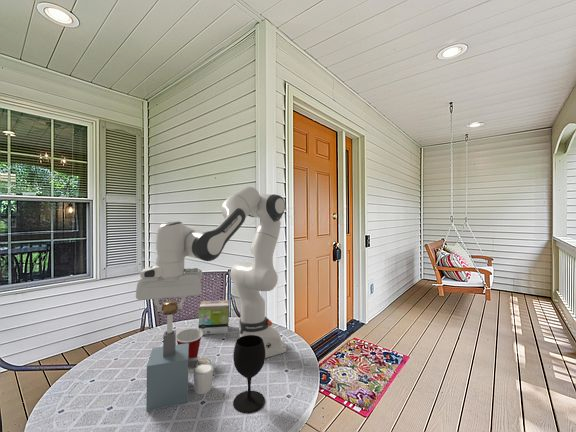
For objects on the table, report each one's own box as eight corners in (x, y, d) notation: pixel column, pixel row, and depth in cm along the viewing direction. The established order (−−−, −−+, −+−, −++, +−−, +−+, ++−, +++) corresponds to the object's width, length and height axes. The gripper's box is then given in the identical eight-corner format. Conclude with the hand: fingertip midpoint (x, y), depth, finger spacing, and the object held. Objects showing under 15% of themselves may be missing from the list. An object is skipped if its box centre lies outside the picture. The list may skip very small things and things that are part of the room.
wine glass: (236, 417, 80) (237, 351, 81) (230, 396, 90) (230, 336, 90) (269, 407, 85) (269, 344, 85) (259, 388, 94) (260, 331, 94)
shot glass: (207, 396, 90) (207, 375, 90) (188, 393, 91) (189, 372, 91) (216, 383, 97) (216, 364, 97) (199, 381, 98) (199, 362, 98)
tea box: (198, 335, 135) (198, 306, 135) (200, 327, 145) (200, 300, 145) (228, 333, 138) (228, 305, 138) (228, 325, 148) (229, 299, 148)
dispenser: (197, 379, 99) (197, 322, 99) (197, 400, 88) (197, 336, 88) (152, 387, 94) (152, 328, 94) (146, 411, 83) (146, 343, 83)
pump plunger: (177, 331, 93) (178, 300, 93) (176, 337, 89) (177, 304, 89) (162, 333, 92) (163, 301, 92) (161, 339, 87) (161, 305, 87)
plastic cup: (176, 373, 103) (176, 342, 103) (173, 359, 113) (174, 331, 113) (205, 366, 108) (205, 336, 108) (200, 353, 118) (200, 326, 118)
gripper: (202, 266, 97) (201, 304, 97) (138, 269, 90) (138, 310, 90) (202, 269, 91) (202, 310, 91) (134, 273, 84) (134, 317, 84)
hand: (169, 310), depth 90 cm, fingers closed on pump plunger, 5 cm apart
